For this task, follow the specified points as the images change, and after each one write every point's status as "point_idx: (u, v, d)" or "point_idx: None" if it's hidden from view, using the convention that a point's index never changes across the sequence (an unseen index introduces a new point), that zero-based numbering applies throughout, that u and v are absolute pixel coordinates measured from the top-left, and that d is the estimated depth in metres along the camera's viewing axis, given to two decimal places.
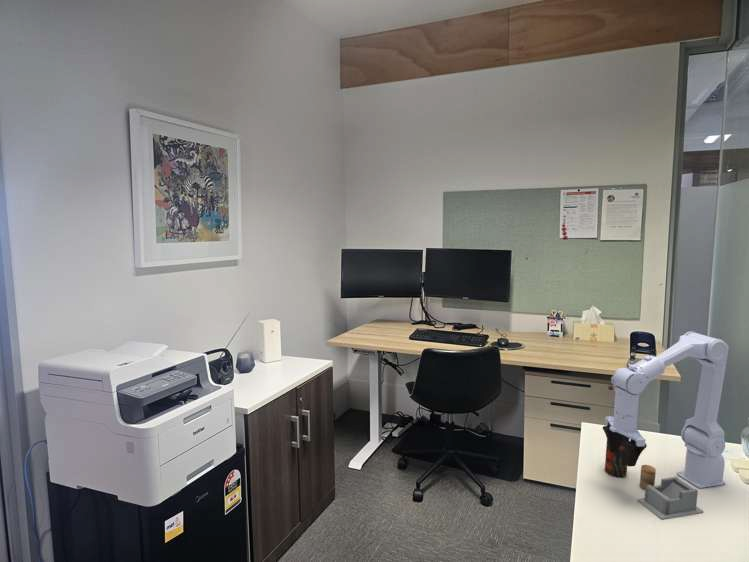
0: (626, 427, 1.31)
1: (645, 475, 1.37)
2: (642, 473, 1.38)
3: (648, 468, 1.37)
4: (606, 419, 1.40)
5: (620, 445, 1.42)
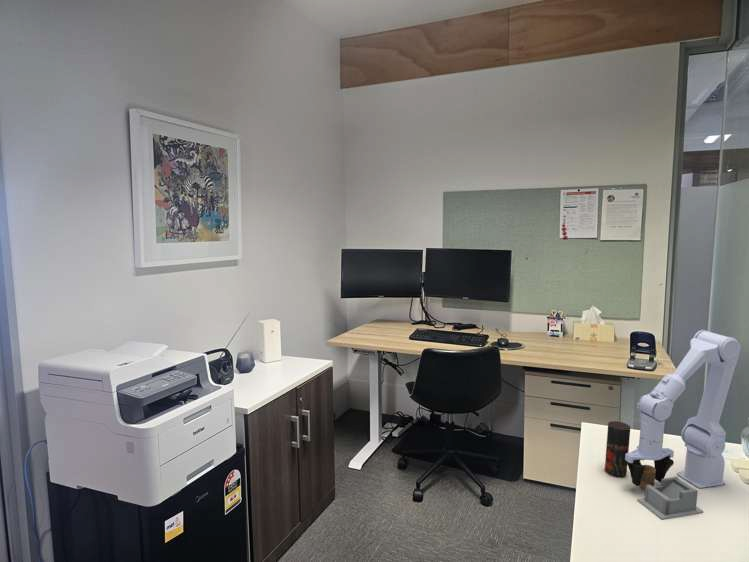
0: (639, 446, 1.37)
1: (645, 475, 1.37)
2: (642, 473, 1.38)
3: (648, 468, 1.37)
4: None
5: (620, 445, 1.42)
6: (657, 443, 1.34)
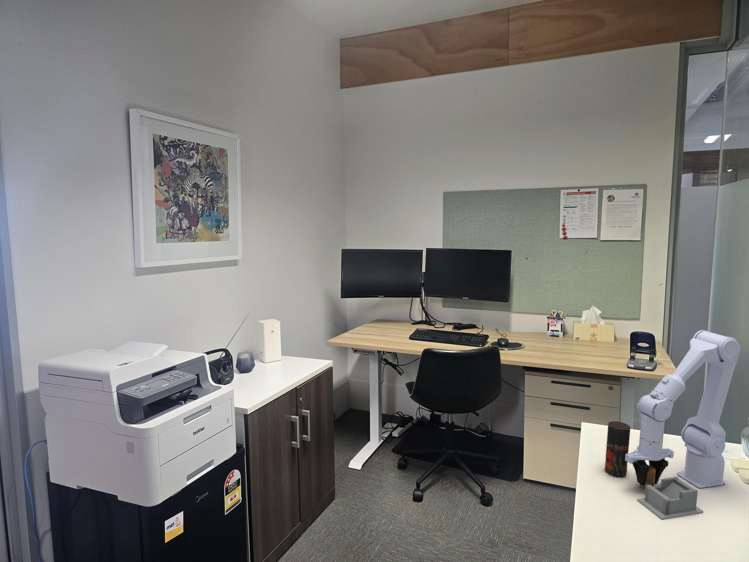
0: (639, 447, 1.37)
1: None
2: None
3: None
4: None
5: (620, 445, 1.42)
6: (657, 443, 1.34)
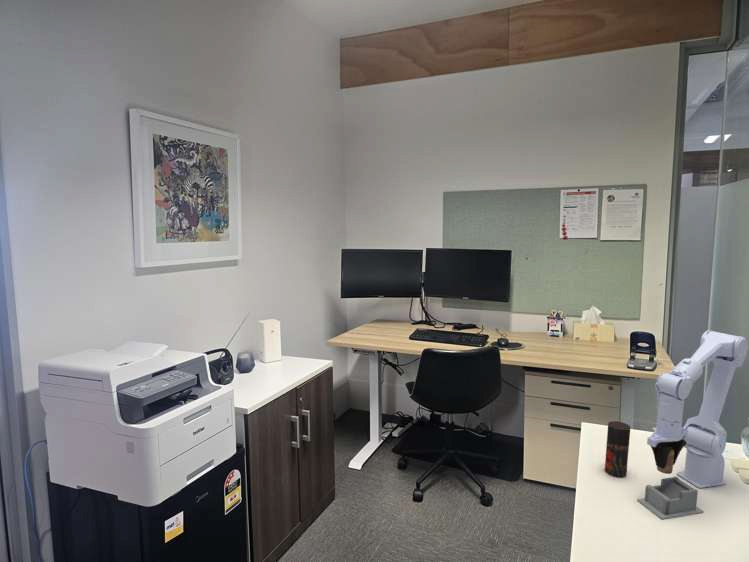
0: (658, 428, 1.31)
1: None
2: None
3: None
4: None
5: (620, 445, 1.42)
6: (678, 423, 1.28)
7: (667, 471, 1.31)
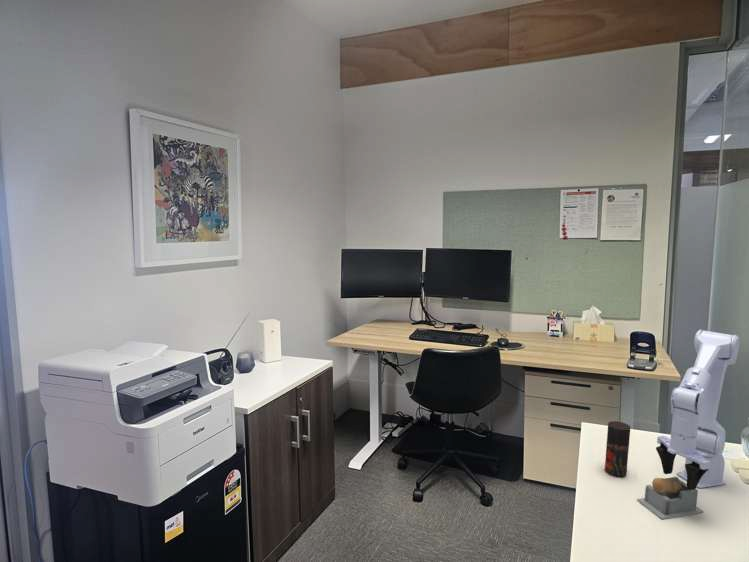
0: (687, 448, 1.25)
1: (668, 486, 1.26)
2: (667, 489, 1.26)
3: (658, 484, 1.27)
4: (659, 439, 1.34)
5: (620, 445, 1.42)
6: None
7: (678, 483, 1.28)
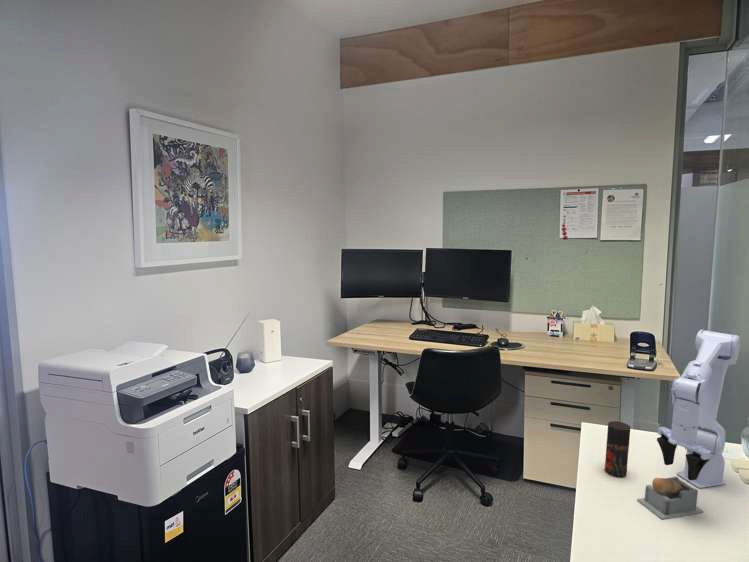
0: (688, 439, 1.25)
1: (668, 486, 1.26)
2: (667, 489, 1.26)
3: (658, 484, 1.27)
4: (659, 430, 1.34)
5: (620, 445, 1.42)
6: None
7: (678, 483, 1.28)
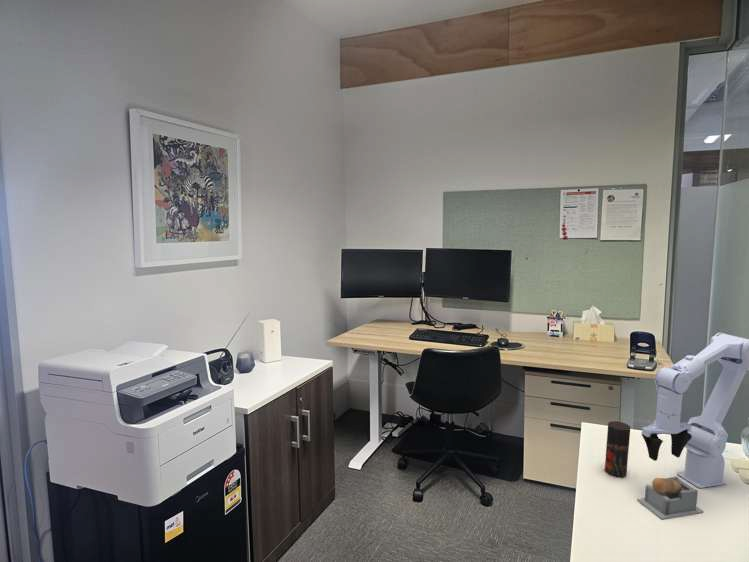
0: (656, 420, 1.35)
1: (668, 486, 1.26)
2: (667, 489, 1.26)
3: (658, 484, 1.27)
4: None
5: (620, 445, 1.42)
6: (675, 416, 1.31)
7: (678, 483, 1.28)
